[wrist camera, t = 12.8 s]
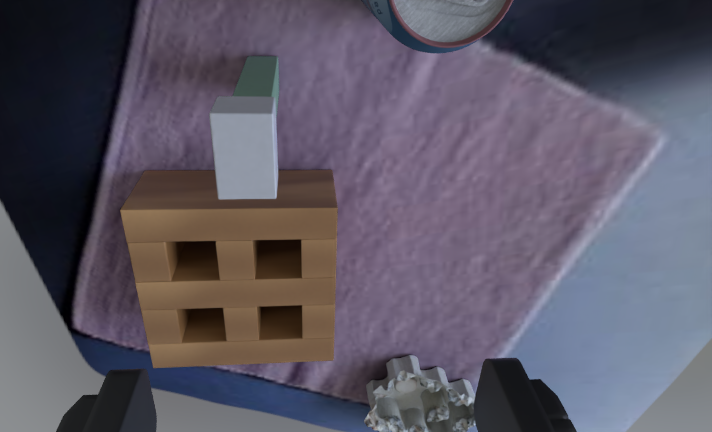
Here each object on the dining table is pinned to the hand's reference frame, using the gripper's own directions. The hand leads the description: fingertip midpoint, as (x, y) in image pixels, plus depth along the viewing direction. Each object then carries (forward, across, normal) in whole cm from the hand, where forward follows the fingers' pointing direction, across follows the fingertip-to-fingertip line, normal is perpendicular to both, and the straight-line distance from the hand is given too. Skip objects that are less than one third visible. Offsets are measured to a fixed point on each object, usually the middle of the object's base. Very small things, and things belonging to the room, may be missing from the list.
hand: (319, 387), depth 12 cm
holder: (+26, +5, +13) cm, 30 cm away
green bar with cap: (+26, +3, -1) cm, 27 cm away
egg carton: (+26, -11, +30) cm, 42 cm away
